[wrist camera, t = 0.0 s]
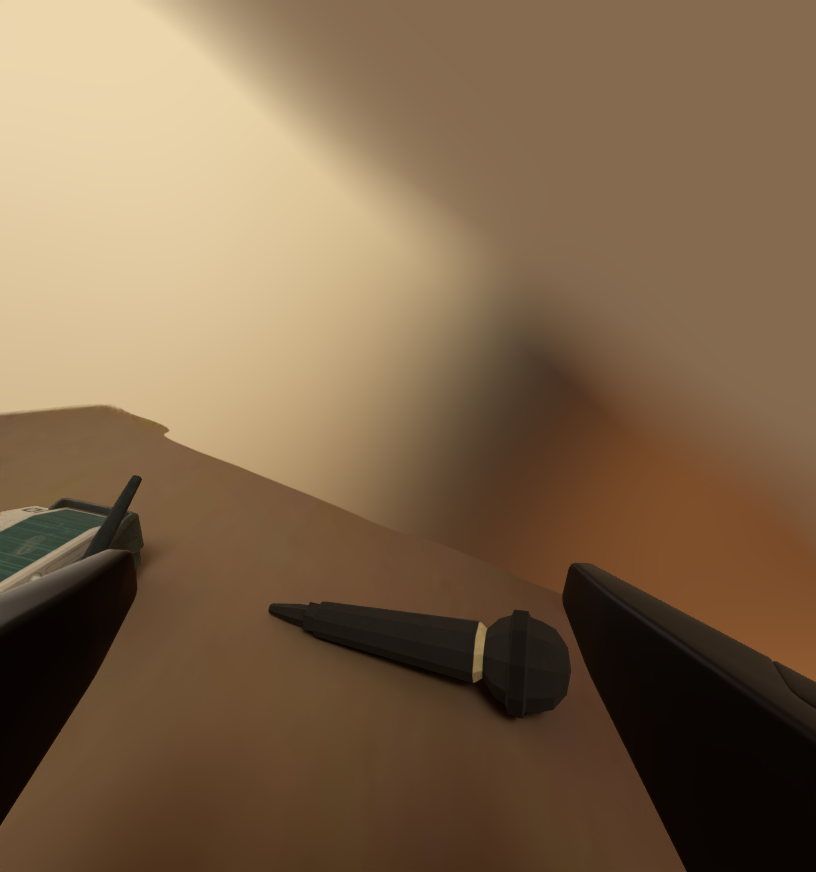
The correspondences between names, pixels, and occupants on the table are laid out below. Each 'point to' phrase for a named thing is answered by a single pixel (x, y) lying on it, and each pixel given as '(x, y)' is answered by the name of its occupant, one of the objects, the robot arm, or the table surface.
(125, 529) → the communication device
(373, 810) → the table surface
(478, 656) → the microphone
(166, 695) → the table surface
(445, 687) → the table surface
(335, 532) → the table surface
